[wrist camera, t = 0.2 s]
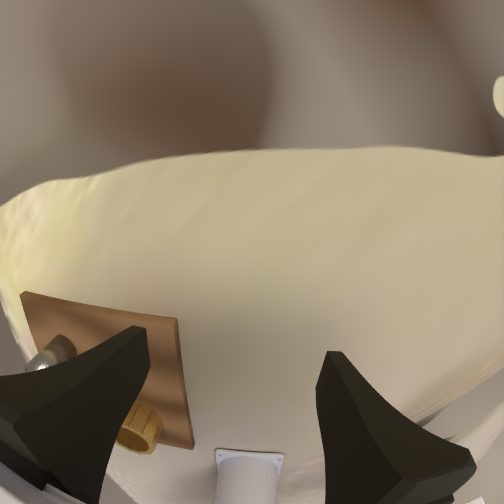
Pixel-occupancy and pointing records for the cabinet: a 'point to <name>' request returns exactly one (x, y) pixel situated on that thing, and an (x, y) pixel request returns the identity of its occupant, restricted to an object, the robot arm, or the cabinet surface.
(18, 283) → the cabinet surface
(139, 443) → the wooden barrel ring
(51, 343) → the steel piston
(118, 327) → the walnut board
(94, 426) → the robot arm
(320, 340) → the cabinet surface
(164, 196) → the cabinet surface
